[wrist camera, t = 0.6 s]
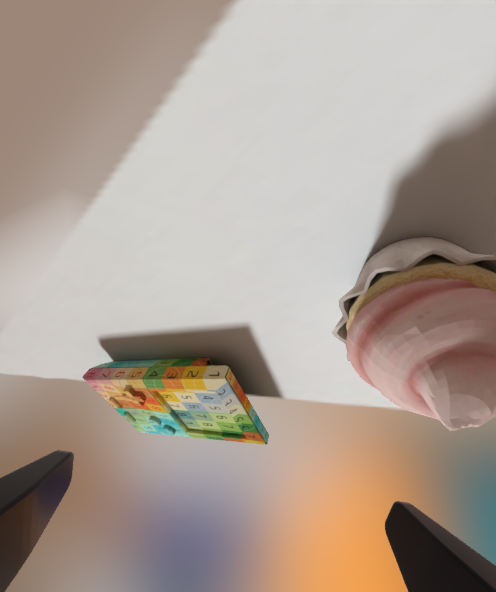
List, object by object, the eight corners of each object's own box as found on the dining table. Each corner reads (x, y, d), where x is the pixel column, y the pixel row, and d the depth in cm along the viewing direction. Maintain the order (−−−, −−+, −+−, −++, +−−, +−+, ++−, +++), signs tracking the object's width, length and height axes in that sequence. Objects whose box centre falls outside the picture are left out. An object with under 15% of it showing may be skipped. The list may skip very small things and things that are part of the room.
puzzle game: (76, 383, 32) (222, 385, 23) (103, 353, 35) (237, 345, 27) (132, 436, 38) (265, 452, 29) (150, 405, 41) (273, 412, 33)
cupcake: (306, 269, 19) (283, 391, 12) (450, 172, 14) (580, 286, 6) (383, 348, 22) (403, 489, 14) (531, 293, 16) (694, 478, 9)
